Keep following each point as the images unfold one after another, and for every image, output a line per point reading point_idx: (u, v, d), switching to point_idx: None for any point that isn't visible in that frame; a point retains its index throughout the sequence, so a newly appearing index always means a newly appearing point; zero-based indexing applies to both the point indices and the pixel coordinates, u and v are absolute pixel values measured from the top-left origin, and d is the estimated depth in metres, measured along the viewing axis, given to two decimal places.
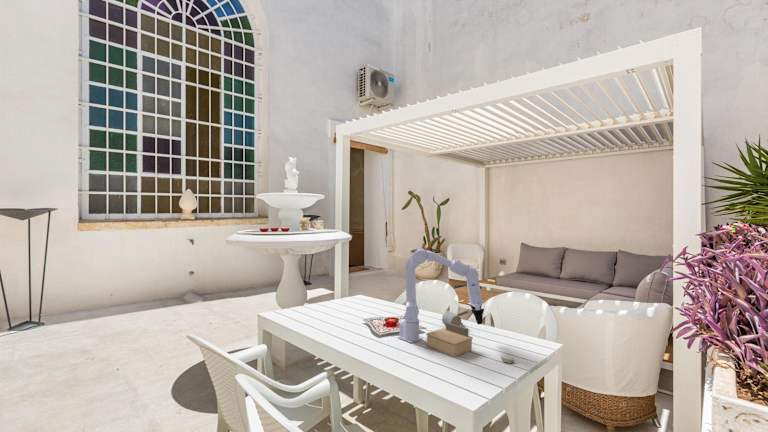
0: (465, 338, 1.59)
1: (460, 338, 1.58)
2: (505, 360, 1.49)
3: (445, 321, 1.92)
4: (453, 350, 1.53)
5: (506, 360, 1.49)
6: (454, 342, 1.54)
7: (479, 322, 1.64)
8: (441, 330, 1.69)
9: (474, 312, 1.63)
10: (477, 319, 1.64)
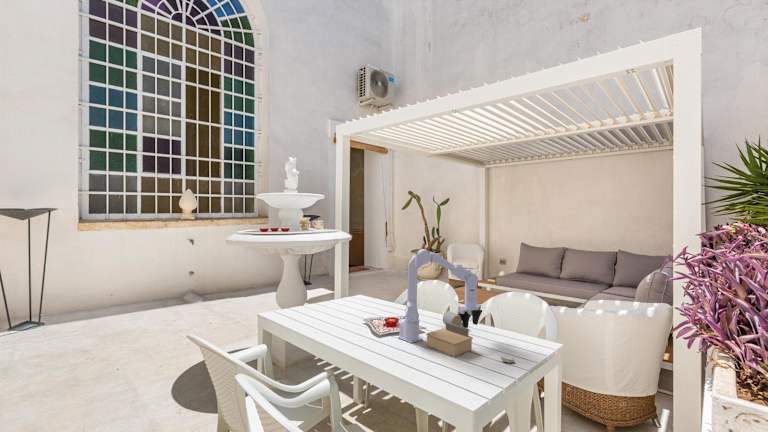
0: (465, 338, 1.59)
1: (460, 338, 1.58)
2: (505, 360, 1.49)
3: (446, 321, 1.93)
4: (453, 350, 1.53)
5: (506, 360, 1.49)
6: (454, 342, 1.54)
7: (464, 325, 1.70)
8: (441, 330, 1.69)
9: (460, 314, 1.70)
10: (463, 322, 1.70)
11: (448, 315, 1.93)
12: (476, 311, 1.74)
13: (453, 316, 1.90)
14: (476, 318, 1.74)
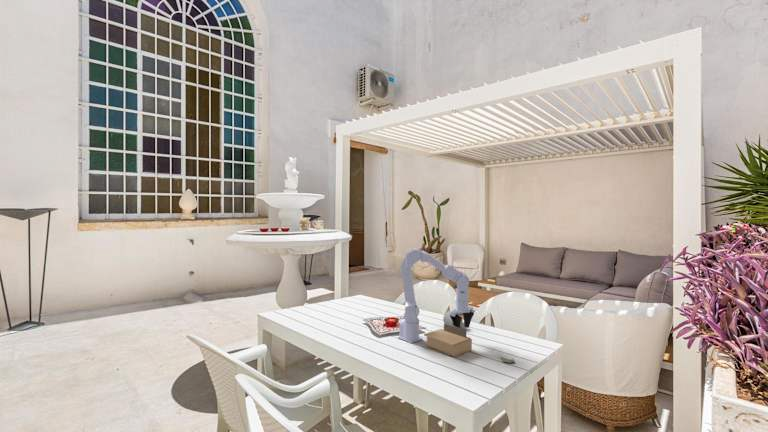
0: (463, 339, 1.58)
1: (458, 339, 1.57)
2: (505, 360, 1.49)
3: (446, 321, 1.93)
4: (453, 350, 1.53)
5: (506, 360, 1.49)
6: (452, 343, 1.53)
7: None
8: (439, 330, 1.68)
9: (451, 317, 1.66)
10: (454, 325, 1.66)
11: (449, 315, 1.93)
12: (468, 314, 1.70)
13: None
14: (468, 321, 1.70)
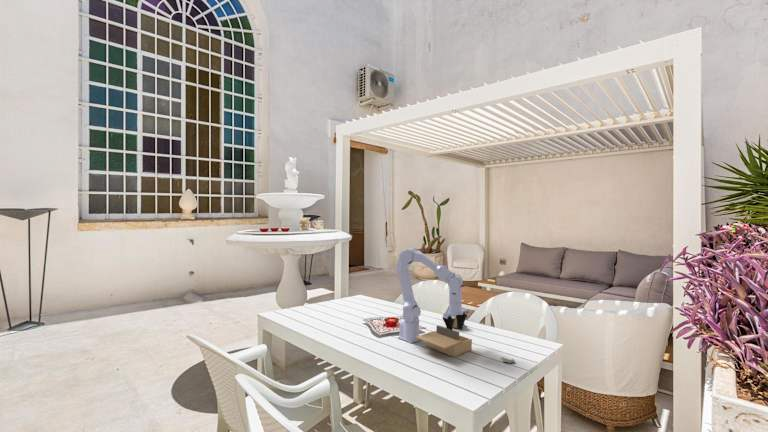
0: (455, 341, 1.54)
1: (450, 341, 1.54)
2: (505, 360, 1.49)
3: None
4: (453, 350, 1.53)
5: (506, 360, 1.49)
6: (444, 346, 1.49)
7: None
8: (432, 333, 1.65)
9: (444, 319, 1.62)
10: (447, 327, 1.63)
11: None
12: (461, 315, 1.67)
13: (454, 316, 1.91)
14: (461, 323, 1.67)
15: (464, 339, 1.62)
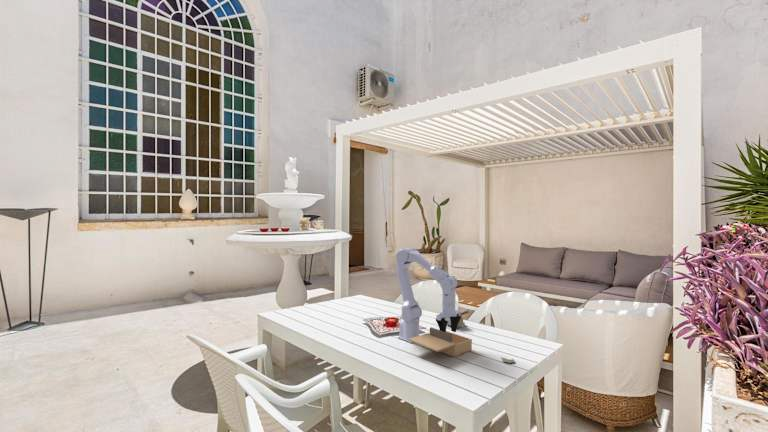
0: (448, 344, 1.51)
1: (443, 344, 1.51)
2: (505, 360, 1.49)
3: None
4: (453, 350, 1.53)
5: (506, 360, 1.49)
6: (436, 348, 1.46)
7: None
8: (425, 335, 1.62)
9: (437, 321, 1.59)
10: (440, 329, 1.60)
11: None
12: (455, 317, 1.64)
13: None
14: (455, 325, 1.64)
15: (464, 339, 1.62)
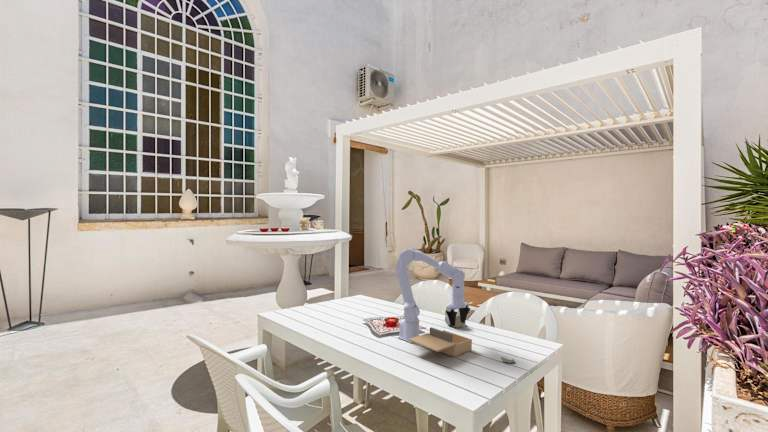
0: (448, 344, 1.51)
1: (443, 344, 1.51)
2: (505, 360, 1.49)
3: (448, 321, 1.93)
4: (453, 350, 1.53)
5: (506, 360, 1.49)
6: (436, 348, 1.46)
7: (451, 324, 1.65)
8: (425, 335, 1.62)
9: (447, 312, 1.65)
10: (450, 320, 1.65)
11: None
12: (464, 309, 1.69)
13: None
14: (464, 316, 1.69)
15: (464, 339, 1.62)
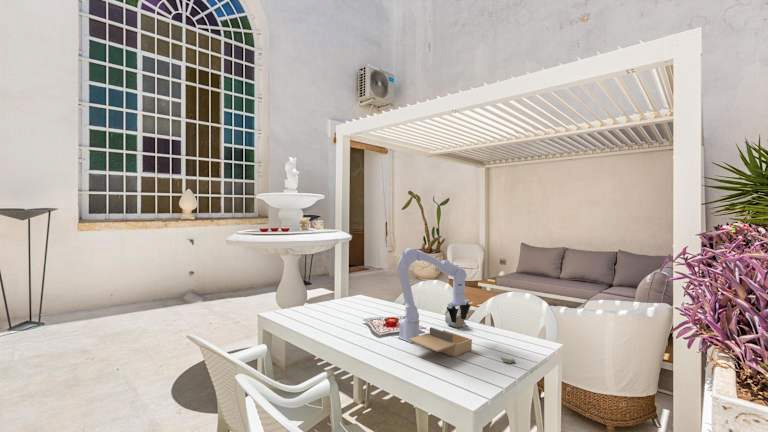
0: (448, 344, 1.51)
1: (443, 344, 1.51)
2: (505, 360, 1.49)
3: (448, 321, 1.93)
4: (453, 350, 1.53)
5: (506, 360, 1.49)
6: (436, 348, 1.46)
7: (452, 320, 1.70)
8: (425, 335, 1.62)
9: (448, 309, 1.71)
10: (451, 317, 1.71)
11: None
12: (464, 306, 1.75)
13: None
14: (464, 313, 1.75)
15: (464, 339, 1.62)
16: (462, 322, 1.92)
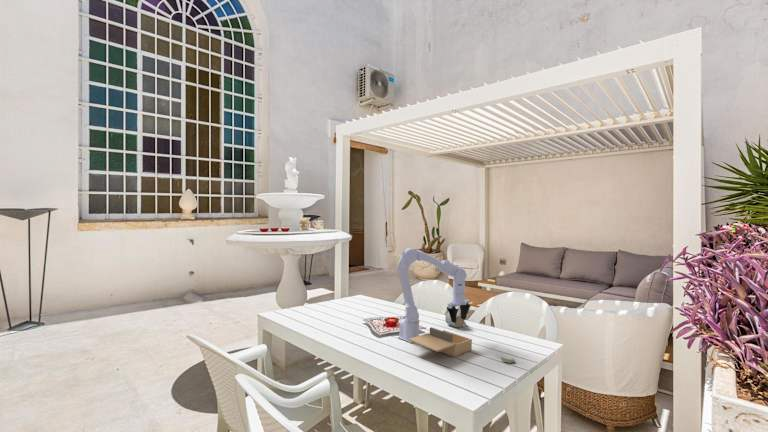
0: (448, 344, 1.51)
1: (443, 344, 1.51)
2: (505, 360, 1.49)
3: (448, 320, 1.93)
4: (453, 350, 1.53)
5: (506, 360, 1.49)
6: (436, 348, 1.46)
7: (452, 320, 1.70)
8: (425, 335, 1.62)
9: (448, 309, 1.71)
10: (451, 317, 1.71)
11: None
12: (464, 306, 1.75)
13: None
14: (464, 313, 1.75)
15: (464, 339, 1.62)
16: (462, 322, 1.92)
